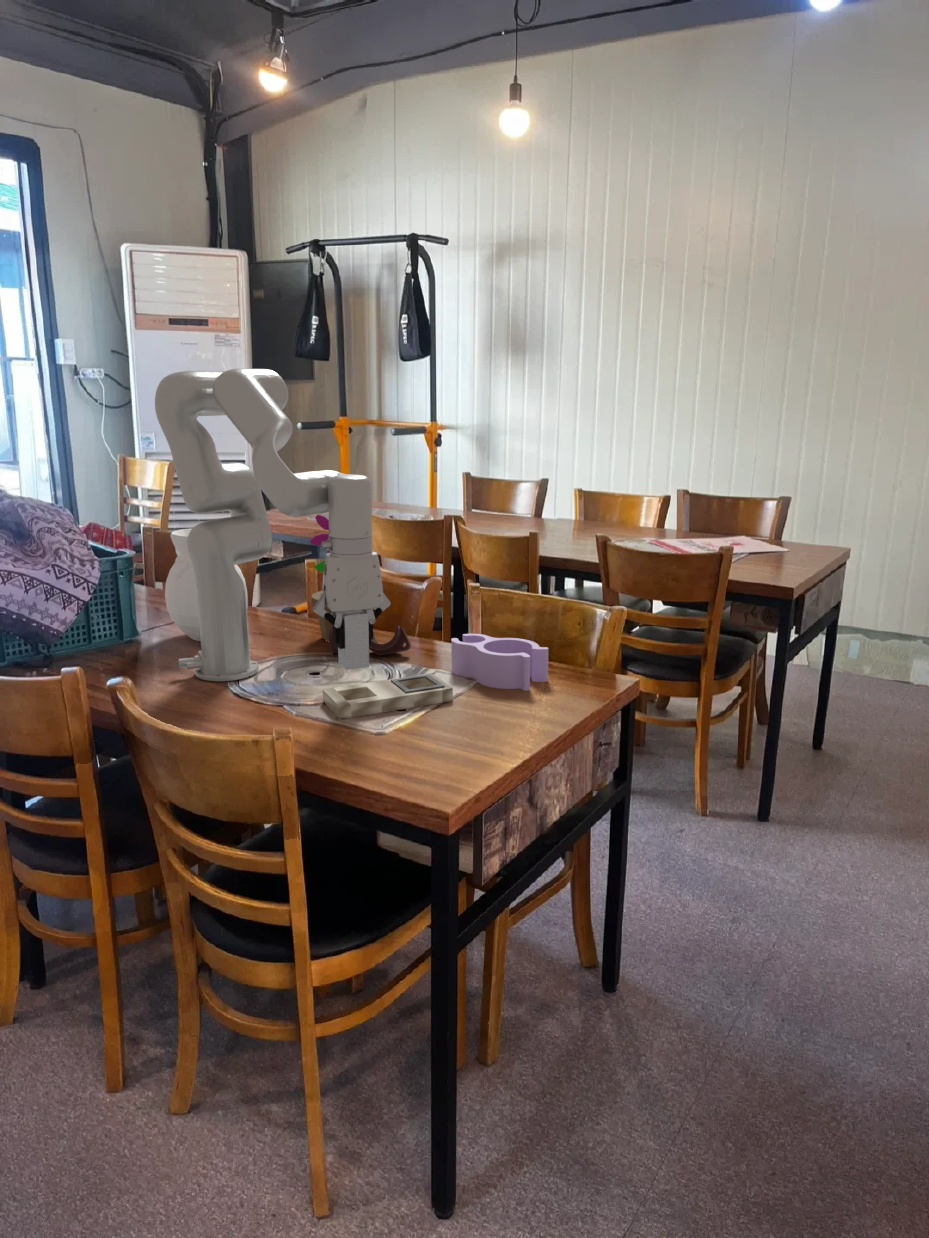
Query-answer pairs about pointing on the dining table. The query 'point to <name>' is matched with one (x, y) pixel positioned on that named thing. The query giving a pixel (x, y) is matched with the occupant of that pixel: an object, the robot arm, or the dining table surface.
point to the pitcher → (185, 588)
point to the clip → (499, 661)
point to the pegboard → (387, 695)
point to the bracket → (381, 649)
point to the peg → (355, 640)
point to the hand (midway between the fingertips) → (353, 644)
